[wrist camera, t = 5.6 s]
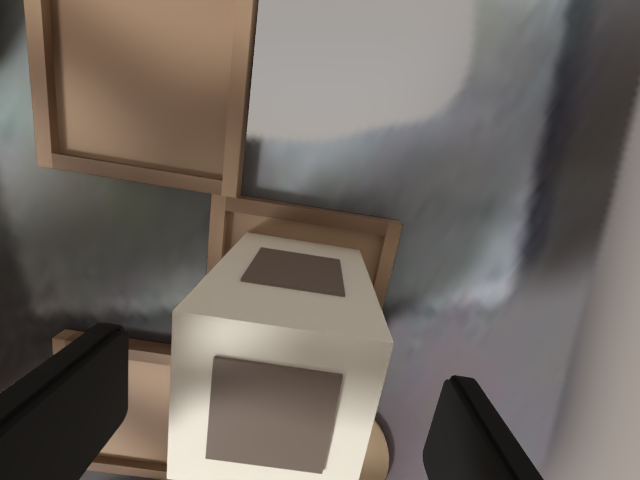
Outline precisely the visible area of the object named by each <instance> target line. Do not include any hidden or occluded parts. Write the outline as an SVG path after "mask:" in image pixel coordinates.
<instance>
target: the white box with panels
mask: <svg viewBox="0 0 640 480" xmlns="http://www.w3.org/2000/svg"><path fill="white" fill-rule="evenodd" d="M393 345H394V342H393V339H392V337H391V334H390V331H389V329H388V326H387V323H386V320H385V318H384V315H383V312H382V309H381V307H380V304H379V301H378V299H377V296H376V293H375V290H374V288H373V285H372V282H371V280H370V277H369V274H368V271H367V269H366V266H365V263H364V261H363V258H362V255H361V252H360V250H357V249H350V248H344V247H338V246H331V245H325V244H318V243H312V242H306V241H299V240H293V239H287V238H280V237H274V236H267V235H261V234H255V233H248V232H247V233H246V234H245V235H244V236H243V237H242V238H241V239H240V240H239V241H238V242H237V243H236V244H235V245H234V246H233V247H232V248H231V250H230V251H229V252H228V253H227V254H226V255H225V256H224V257H223V258H222V259H221V260H220V261H219V262H218V263H217V264H216V265H215V266H214V267H213V269H212V270H211V271H210V272H209V273H208V274H207V275H206V276H205V277H204V278H203V279H202V280H201V281H200V282H199V283H198V284H197V285H196V287H195V288H194V289H193V290H192V291H191V292H190V293H189V294H188V295H187V296H186V297H185V298H184V299H183V300H182V301H181V302H180V303H179V305H178V306H177V307H176V308H175V309H174V310H173V313H172V341H171V370H170V398H169V426H168V454H167V479H171V480H359V477H360V473H361V469H362V465H363V461H364V458H365V454H366V450H367V446H368V442H369V438H370V434H371V430H372V427H373V423H374V419H375V415H376V411H377V407H378V403H379V399H380V395H381V392H382V388H383V384H384V380H385V376H386V372H387V368H388V364H389V361H390V357H391V353H392V349H393Z"/></svg>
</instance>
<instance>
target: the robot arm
mask: <svg viewBox="0 0 640 480" xmlns="http://www.w3.org/2000/svg"><path fill="white" fill-rule="evenodd" d="M128 356H129V336H128V333H127V332H125V331H124V329H123V327H122V326H121V325H114V324H108V323H98V324H96V325H94V326H93V327H92V328H90V329H89V330H88V331H86V332H85V333H83V334H82V335H81V336H79V337H78V338H77V339H75V340H74V341H72V342H71V343H70V344H68V345H67V346H66V347H64V348H63V349H61V350H60V351H59V352H57V353H56V354H54V355H53V356H52V357H50V358H49V359H48V360H46V361H45V362H43V363H42V364H41V365H39V366H38V367H37V368H35V369H34V370H32V371H31V372H30V373H28V374H27V375H26V376H24V377H23V378H21V379H20V380H19V381H17V382H16V383H14V384H13V385H12V386H10V387H9V388H8V389H6V390H5V391H3V392H2V393H1V394H0V480H79V479H80V477H81V476H82V475H83V474H84V472H85V471H86V470H87V468H88V467H89V466H90V464H91V463H92V462H93V460H94V459H95V458H96V457H97V455H98V454H99V453H100V451H101V450H102V449H103V447H104V446H105V445H106V444H107V442H108V441H109V440H110V438H111V437H112V436H113V434H114V433H115V432H116V430H117V429H118V428H119V427H120V425H121V424H122V422H123V421H124V419H125V417H126V415H127V411H128ZM423 463H424V467H425V470H426V473H427V476H428V479H429V480H543V478H542V477H541V475H540V474H539V472H538V471H537V469H536V468H535V466H534V465H533V464H532V462H531V461H530V459H529V458H528V456H527V455H526V453H525V452H524V450H523V449H522V447H521V446H520V444H519V443H518V441H517V440H516V439H515V437H514V436H513V434H512V433H511V431H510V430H509V428H508V427H507V425H506V424H505V422H504V421H503V419H502V418H501V417H500V415H499V414H498V412H497V411H496V409H495V408H494V406H493V405H492V403H491V402H490V400H489V399H488V397H487V396H486V395H485V393H484V392H483V390H482V389H481V387H480V386H479V384H478V383H477V381H476V380H475V379H473V378H469V377H463V376H456V375H453V376H452V377H451V378H450V380H448V379H447V380H445V382H444V384H443V387H442V391H441V394H440V397H439V400H438V404H437V407H436V410H435V414H434V417H433V420H432V423H431V427H430V430H429V433H428V437H427V440H426V443H425V446H424V450H423Z"/></svg>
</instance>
